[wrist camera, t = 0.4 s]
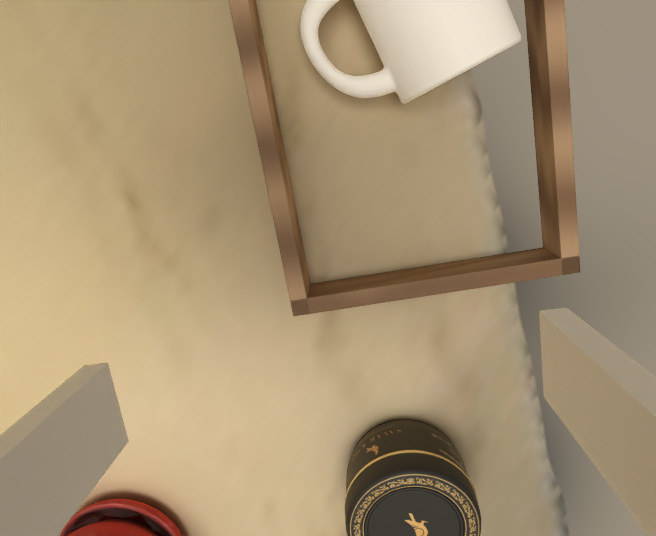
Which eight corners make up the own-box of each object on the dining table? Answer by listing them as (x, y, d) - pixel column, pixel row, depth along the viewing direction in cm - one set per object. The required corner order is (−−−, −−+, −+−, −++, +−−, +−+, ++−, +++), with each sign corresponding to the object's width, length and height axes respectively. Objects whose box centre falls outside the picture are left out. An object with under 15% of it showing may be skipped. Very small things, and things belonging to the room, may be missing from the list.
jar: (414, 390, 42) (428, 444, 35) (485, 473, 44) (512, 541, 37) (322, 454, 44) (316, 519, 37) (393, 531, 46) (401, 608, 39)
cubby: (231, -29, 35) (219, -47, 32) (536, -95, 33) (557, -121, 30) (298, 301, 41) (293, 316, 37) (560, 260, 39) (580, 272, 36)
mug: (441, -92, 34) (468, -160, 26) (501, 52, 36) (542, 29, 28) (282, 3, 35) (262, -34, 28) (347, 135, 37) (346, 135, 30)
